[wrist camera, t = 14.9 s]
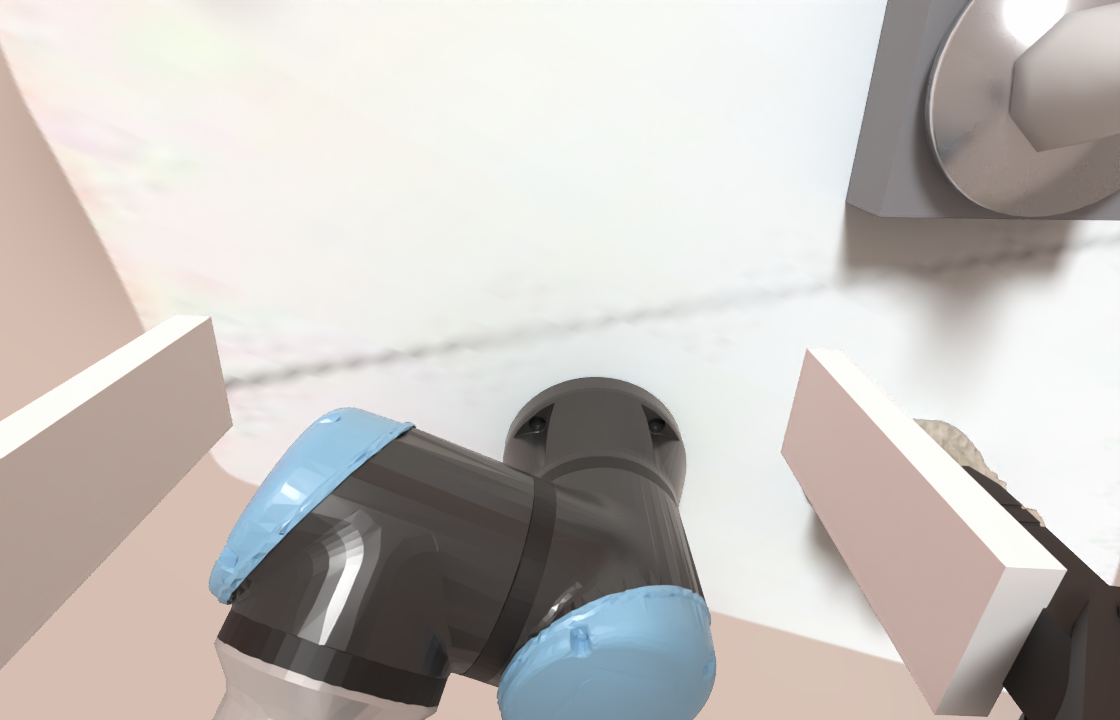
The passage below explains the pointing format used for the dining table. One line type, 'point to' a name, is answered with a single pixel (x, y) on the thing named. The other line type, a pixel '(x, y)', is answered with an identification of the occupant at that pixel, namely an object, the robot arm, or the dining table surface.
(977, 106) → the scale pan
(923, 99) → the base
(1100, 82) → the flask
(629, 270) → the dining table surface
